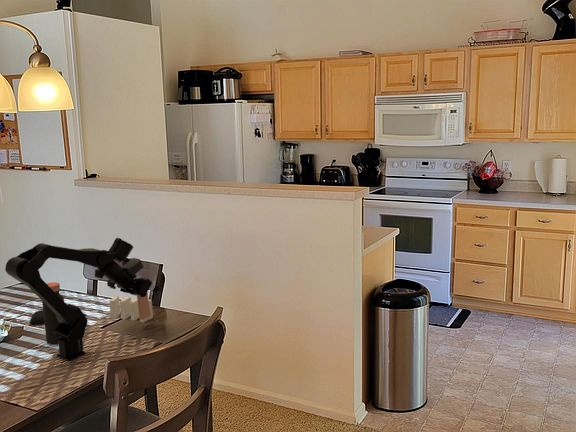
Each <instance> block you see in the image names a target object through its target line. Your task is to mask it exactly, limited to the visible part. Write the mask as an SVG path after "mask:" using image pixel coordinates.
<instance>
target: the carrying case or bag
mask: <svg viewBox="0 0 576 432" xmlns="http://www.w3.org/2000/svg"><path fill="white" fill-rule="evenodd" d="M29 322H30V324H32V325H34V326H36V325H45V323H44V314H43V309H42V310H37V311H34V312H33V314H32V315H31V318H30V320H29Z"/></svg>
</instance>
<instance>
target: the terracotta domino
mask: <svg viewBox="0 0 576 432" xmlns="http://www.w3.org/2000/svg"><path fill="white" fill-rule="evenodd" d="M148 292H149V291H147V293H146V294H147V295H146V297H139V296H137V295H136V299H137V300H138V308H139V316H140V318H139V320H140V319H145V318H147V317H149V316H150V308H149V300H150V299H149V295H148ZM148 299H149V300H148Z"/></svg>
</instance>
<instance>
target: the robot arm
mask: <svg viewBox="0 0 576 432" xmlns="http://www.w3.org/2000/svg"><path fill="white" fill-rule="evenodd" d="M133 249H134V246H133V245H132V243H130V242H128V241H125V240H124V239H122V238H119V237H116V238H115V239H114V241H113V242H112V244H111V246H110V248H109V249H108V250H106V249H105V250H104V249H97V248H89V247H88V248H80V249H79V248H78V249H77V248H71V247H63V246H58V245H57V246H56V245H50V244H47V243H43V242H41V243H37V244H35V246H33V247H32V248H30V249H28V250H27V249H26V251H23V252H20V253H19V254H18V255H17V256H14V257H11V258H9V259H8V261H7V262H6V264H5V267H4V268H5V272H6V274H7V275H8V276H10V277H11V278H13V279H14V280H16V281H18V282H20V283H21V284H23V285H25V286H26V287H28V289H30V290H31V291H32V292H33V293H34V294H35V295H36V296H37V297H38V298H39V299H40V301H41V302H42V301H43V302H44V303H45V304H46V305H47V306H48V307H49V308H50V309H51V310H52V311H53V312H54V313H55V314H56V318H57V320H58V322H59V324H58V325H57V327H56V328H55V330H54V331H53V332H54V334H55V336H57V337H60V339H58V343H59V344H58V352H59V354H56V357H57V358H60V359H62V360H66V361H69V362H70V361H72V360H74V359H78V357H81V356H83V355H86V352H87V351H85V350H84V342H83V339H84V337H85V333H86V330H87V329H86V328H87V325H88V321H89V320H88V318H87V314H86V313H84V312H83V311H82V310H81V308H80V307H79V306H76V305H73V304H70V303H68V304H67V303H66V302H65V300H64V301H63V300H62V299H61V298H60V297H59V296H58V295H57V294H56V293H55V292H54V291H53V290H52V289H51V288H50V287H49V286H48V285H47V282H45V280H44V279H43V278H42V277H41V274H40V271H39V269H41V268H42V267H43V266H44V264H45V263H46V261H48V260H49V259H54V260H55V259H56V260H64V261H71V262H78V263H80V264H83V265H85V266H89V267H93V268H97V269H95V270H94V278H98V279H103V278H104V277H105V278H107V279H108V280H107V282H106V284H107V287H108V288H110V289H113V290H116V289H120V290H119V291H120V292H122V293H126V294H130V295H132V296H136V297H137V296H139V297H146V295H147V294H146V293H147V292H149V290H150V288H151V286H152V285H153V281H152V280H150V278H147V277H139V278H138V277H137V276H138V275H137V274H138V272H140V271H141V270H143V269H144V267H145V266H144V264H143V262H142V261H141V259H140V258H136V257H133V258H132V257H130V258H128V257H129V255H130V253H131V252H132V251H133ZM120 263H121V265H120Z"/></svg>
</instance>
